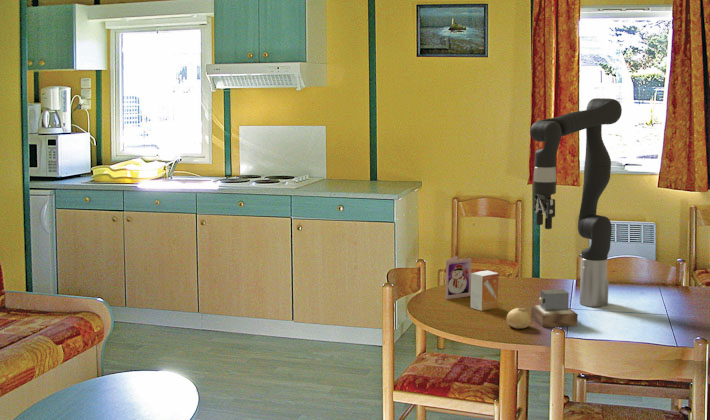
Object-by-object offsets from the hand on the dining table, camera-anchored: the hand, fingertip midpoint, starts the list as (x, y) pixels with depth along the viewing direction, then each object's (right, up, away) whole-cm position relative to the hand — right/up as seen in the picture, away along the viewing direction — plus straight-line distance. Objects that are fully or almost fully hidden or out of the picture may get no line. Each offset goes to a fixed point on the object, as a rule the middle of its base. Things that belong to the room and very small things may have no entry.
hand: (543, 226), depth 275 cm
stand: (+3, -32, -1) cm, 33 cm away
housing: (+3, -28, -1) cm, 28 cm away
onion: (-10, -34, -7) cm, 36 cm away
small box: (-18, -30, +17) cm, 39 cm away
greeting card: (-27, -28, +34) cm, 51 cm away
